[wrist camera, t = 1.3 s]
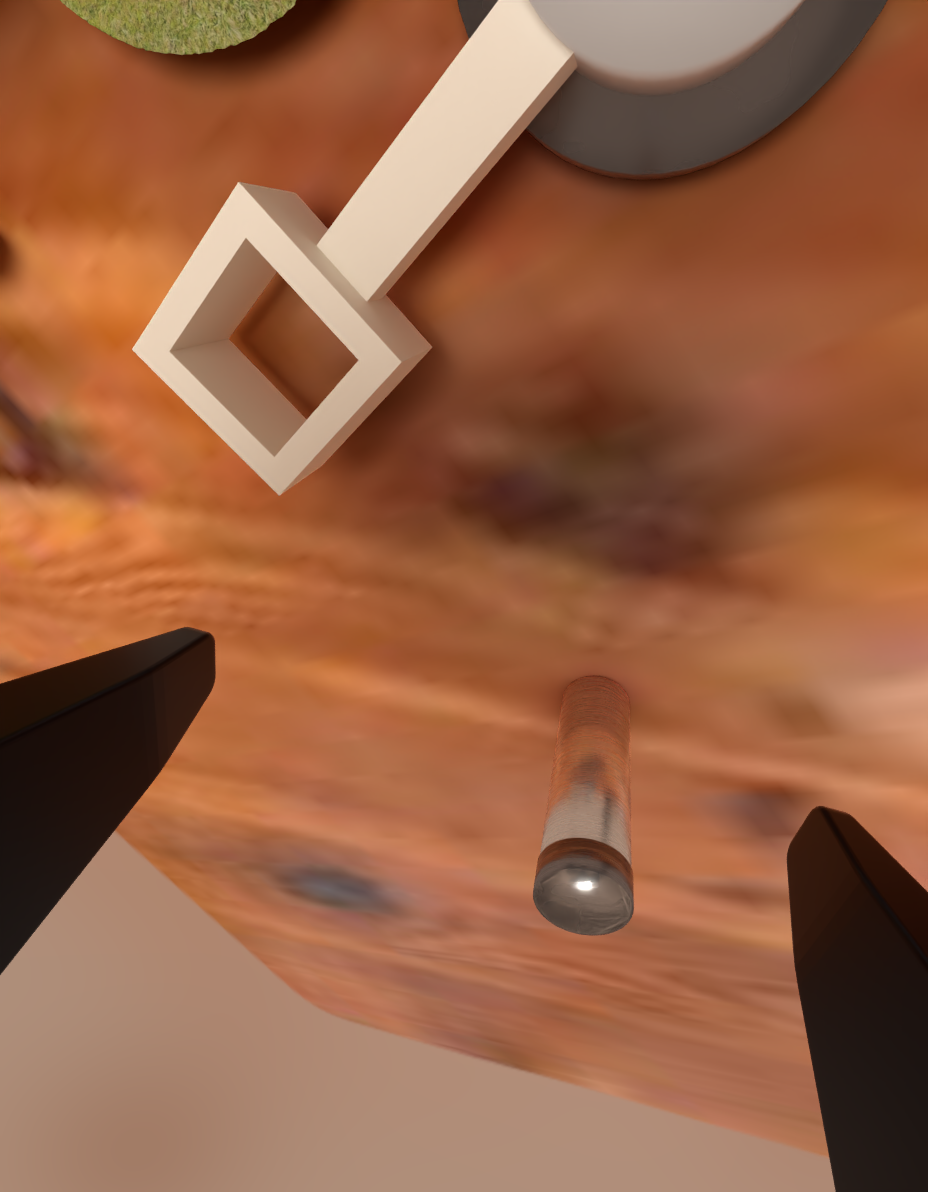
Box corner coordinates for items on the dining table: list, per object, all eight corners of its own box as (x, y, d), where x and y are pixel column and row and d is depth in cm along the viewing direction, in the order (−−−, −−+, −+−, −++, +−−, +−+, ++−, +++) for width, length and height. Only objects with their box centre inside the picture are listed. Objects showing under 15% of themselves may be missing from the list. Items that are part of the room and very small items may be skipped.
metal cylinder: (644, 696, 25) (653, 899, 17) (607, 741, 26) (599, 948, 18) (583, 663, 25) (564, 851, 17) (548, 710, 26) (516, 904, 18)
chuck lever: (727, -522, 11) (759, -763, 8) (945, -140, 12) (1030, -244, 10) (175, 317, 20) (108, 326, 17) (339, 484, 21) (299, 515, 19)
